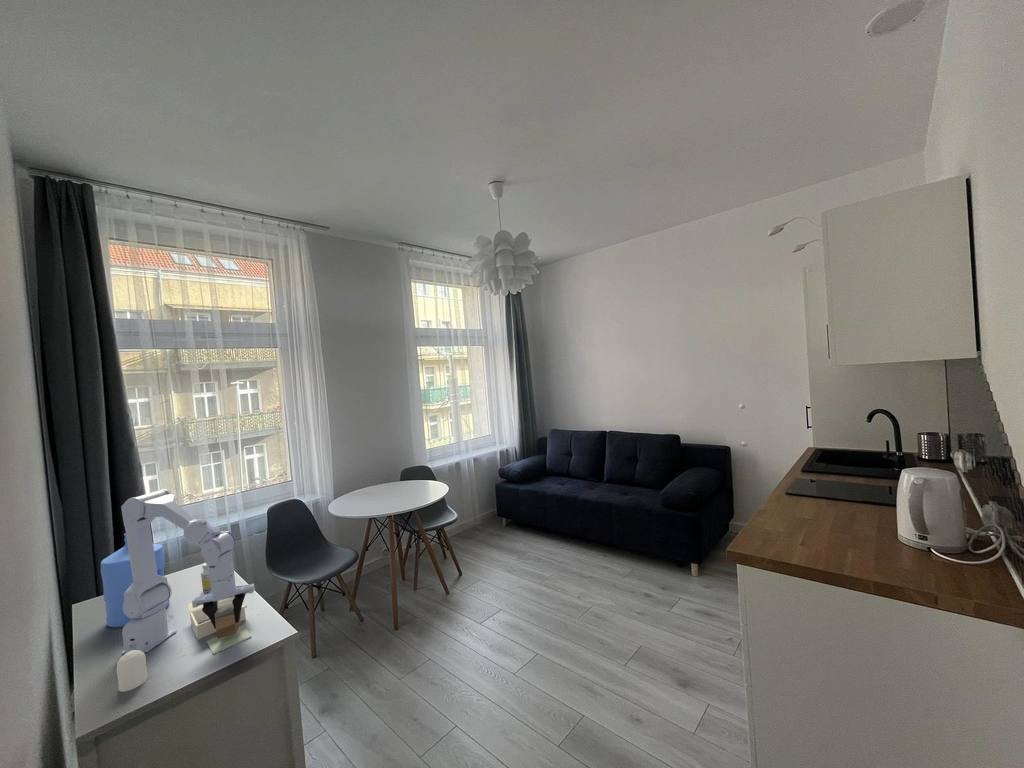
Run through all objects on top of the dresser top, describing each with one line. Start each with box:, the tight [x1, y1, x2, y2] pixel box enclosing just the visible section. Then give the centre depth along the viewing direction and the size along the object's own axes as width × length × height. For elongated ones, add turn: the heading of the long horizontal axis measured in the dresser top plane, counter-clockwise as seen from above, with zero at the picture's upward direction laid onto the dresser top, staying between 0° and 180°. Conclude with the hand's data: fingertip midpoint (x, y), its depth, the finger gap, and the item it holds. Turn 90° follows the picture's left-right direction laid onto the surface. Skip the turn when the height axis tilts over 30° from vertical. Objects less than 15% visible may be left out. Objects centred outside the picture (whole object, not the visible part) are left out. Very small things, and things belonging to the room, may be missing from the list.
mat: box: [206, 624, 252, 655], centre depth 116 cm, size 9×9×1 cm
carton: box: [187, 597, 248, 641], centre depth 126 cm, size 20×12×6 cm, turn 46°
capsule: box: [116, 650, 149, 693], centre depth 101 cm, size 5×5×8 cm
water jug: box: [100, 532, 171, 628], centre depth 136 cm, size 16×16×28 cm
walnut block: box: [214, 603, 241, 639], centre depth 116 cm, size 4×4×7 cm
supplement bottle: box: [200, 562, 211, 593], centre depth 150 cm, size 5×5×10 cm
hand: (227, 623), depth 116 cm, fingers closed on walnut block, 4 cm apart
